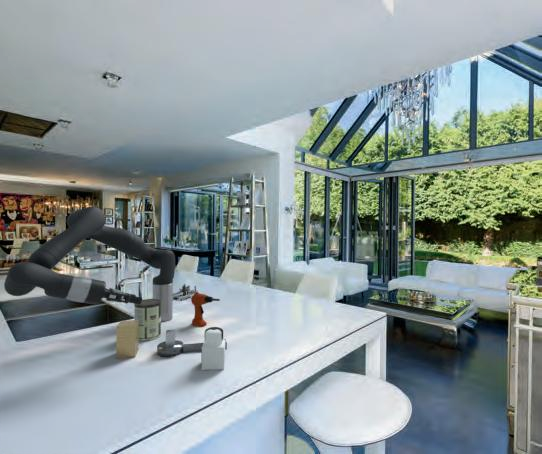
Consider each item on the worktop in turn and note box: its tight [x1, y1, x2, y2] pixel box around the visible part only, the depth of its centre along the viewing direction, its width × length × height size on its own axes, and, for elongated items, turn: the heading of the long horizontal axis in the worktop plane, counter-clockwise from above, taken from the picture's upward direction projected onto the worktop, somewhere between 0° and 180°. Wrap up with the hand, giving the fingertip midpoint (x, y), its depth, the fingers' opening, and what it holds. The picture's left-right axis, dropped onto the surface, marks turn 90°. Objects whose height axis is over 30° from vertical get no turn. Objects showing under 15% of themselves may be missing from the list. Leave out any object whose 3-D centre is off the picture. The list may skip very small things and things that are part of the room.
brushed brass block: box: [115, 319, 140, 359], centre depth 109 cm, size 6×6×11 cm
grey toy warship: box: [173, 283, 199, 301], centre depth 191 cm, size 14×7×20 cm
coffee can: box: [133, 298, 162, 342], centre depth 126 cm, size 10×10×14 cm
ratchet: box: [156, 329, 228, 358], centre depth 113 cm, size 24×9×8 cm, turn 103°
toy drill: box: [190, 291, 221, 328], centre depth 139 cm, size 5×19×15 cm, turn 52°
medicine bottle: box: [200, 326, 227, 371], centre depth 101 cm, size 7×7×12 cm
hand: (138, 299), depth 106 cm, fingers open, 8 cm apart
